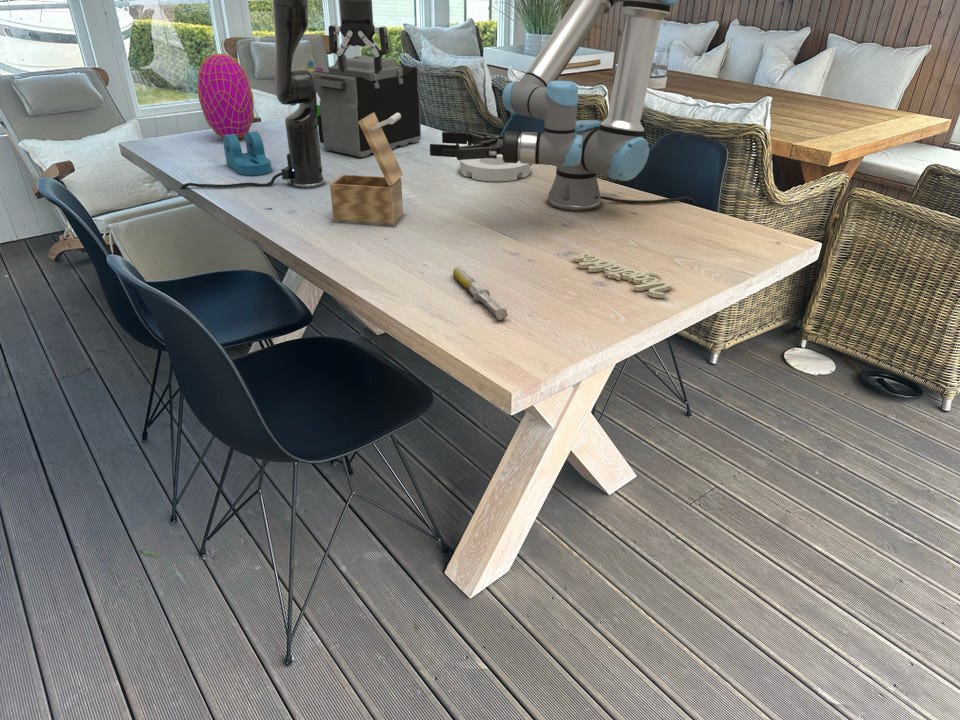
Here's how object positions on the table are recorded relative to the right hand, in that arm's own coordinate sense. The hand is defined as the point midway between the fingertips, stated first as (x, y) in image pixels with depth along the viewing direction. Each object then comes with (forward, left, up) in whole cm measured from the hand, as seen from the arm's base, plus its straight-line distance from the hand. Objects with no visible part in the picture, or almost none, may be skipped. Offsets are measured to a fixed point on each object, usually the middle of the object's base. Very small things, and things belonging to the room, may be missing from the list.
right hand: (436, 143), depth 174 cm
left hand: (+17, -8, +16) cm, 25 cm away
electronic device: (+6, -90, -21) cm, 93 cm away
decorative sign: (-34, +44, -21) cm, 59 cm away
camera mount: (+49, -67, -21) cm, 86 cm away
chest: (+18, -8, -21) cm, 29 cm away
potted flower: (+24, -136, -21) cm, 139 cm away
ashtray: (-29, -45, -21) cm, 58 cm away
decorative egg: (+57, -113, -21) cm, 128 cm away
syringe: (+1, +47, -21) cm, 52 cm away
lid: (+14, -6, -3) cm, 15 cm away
